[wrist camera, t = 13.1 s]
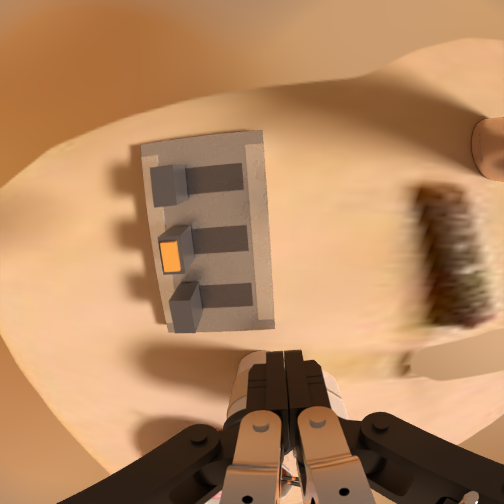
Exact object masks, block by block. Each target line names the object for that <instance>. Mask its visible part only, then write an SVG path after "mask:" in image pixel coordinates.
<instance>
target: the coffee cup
mask: <svg viewBox="0 0 504 504" xmlns="http://www.w3.org/2000/svg"><path fill="white" fill-rule="evenodd" d="M266 352H270V351H255V352H252V353H250V354H248V355H246V356H245V357H244V358H243V359H242V360H241V362H240V364H239V368H238V372H237V377H236V379H235V381H234V384H233V389H232V393H231V397H230V402H229V406H228V410H227V420H226V422H225V423H224V426H223V430H226V429H230V428H233V427H235V426H237V425H238V424H239V423H241V421H242V419H243V418H244V417H245V414H246V400H247V389H248V388H247V386H248V372H249V370H250V369H251V368H252V366H253V365H254V364H265V363H266ZM284 368H285V364H284ZM293 449H294V448H290V441H289V428H288V448H285V449H284V456H285V455H286V454H288V453H289V452H290V451H291V450H293Z"/></svg>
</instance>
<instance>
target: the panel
mask: <svg viewBox="0 0 504 504" xmlns="http://www.w3.org/2000/svg"><path fill="white" fill-rule="evenodd" d="M141 156H142V157H141V159H142V170H143V180H144V190H145V198H146V207H147V214H148V222H149V229H150V236H151V243H152V249H153V256H154V262H155V268H156V273H157V279H158V284H159V290H160V295H161V300H162V305H163V310H164V315H165V320H166V323H167V328H168V332H175V331H174V326H173V321H172V317H171V311H170V306H169V300H170V298H171V296H172V295H173V293H174V292H175V290H176V288H177V287H178V285H179V284H186V283H199V290H200V297H201V304H202V310H203V314H202V316H201V319H200V322H199V325H198V328H197V330H196V332H221V331H246V330H264V329H275V322H274V302H273V283H272V265H271V248H270V232H269V216H268V201H267V186H266V172H265V158H264V145H263V132H262V130H259V131H245V132H233V133H223V134H213V135H204V136H196V137H188V138H181V139H174V140H167V141H161V142H154V143H148V144H143V145H141ZM172 164H185V171H186V182H187V192H188V200H186V201H184V202H182V203H180V204H178V205H175V206H166V207H156V208H154V204H153V195H152V186H151V177H150V168H151V167H158V166H165V165H172ZM190 225H191V233H192V241H193V249H194V257H195V259H194V261H193V263H192V264H191V266H190V267H189V269H188V270H187V272H186V273H185V274H171V275H163V270H162V264H161V258H160V251H159V245H158V238H157V237H158V236H160V235H161V234H162V233H164V232H165V231H166V230H168V229H169V228H170V227H179V226H190Z"/></svg>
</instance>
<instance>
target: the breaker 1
mask: <svg viewBox="0 0 504 504" xmlns="http://www.w3.org/2000/svg"><path fill="white" fill-rule="evenodd" d="M150 177H151V186H152V195H153V204H154V208H156V207H166V206H175V205H178V204H180V203H182V202H184V201H186V200H188V192H187V182H186V171H185V164H172V165H165V166H158V167H151V168H150Z"/></svg>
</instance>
